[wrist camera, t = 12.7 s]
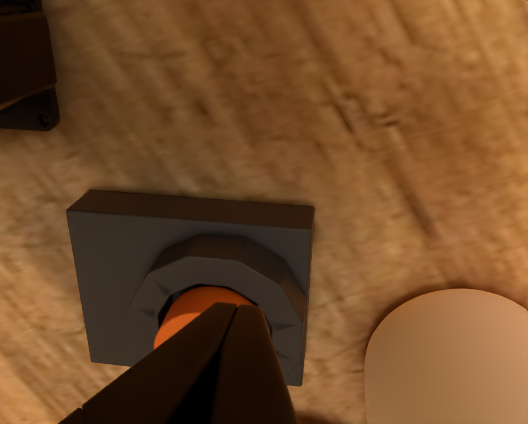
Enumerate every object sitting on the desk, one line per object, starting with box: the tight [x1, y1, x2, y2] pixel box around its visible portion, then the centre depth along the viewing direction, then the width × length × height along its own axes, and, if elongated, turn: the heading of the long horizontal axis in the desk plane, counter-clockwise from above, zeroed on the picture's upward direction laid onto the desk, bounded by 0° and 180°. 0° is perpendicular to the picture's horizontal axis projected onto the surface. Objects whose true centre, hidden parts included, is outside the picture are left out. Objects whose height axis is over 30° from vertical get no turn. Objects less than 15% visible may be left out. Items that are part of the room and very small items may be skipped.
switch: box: [154, 286, 253, 349], centre depth 19 cm, size 4×4×2 cm
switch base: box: [66, 190, 315, 386], centre depth 22 cm, size 10×8×4 cm
